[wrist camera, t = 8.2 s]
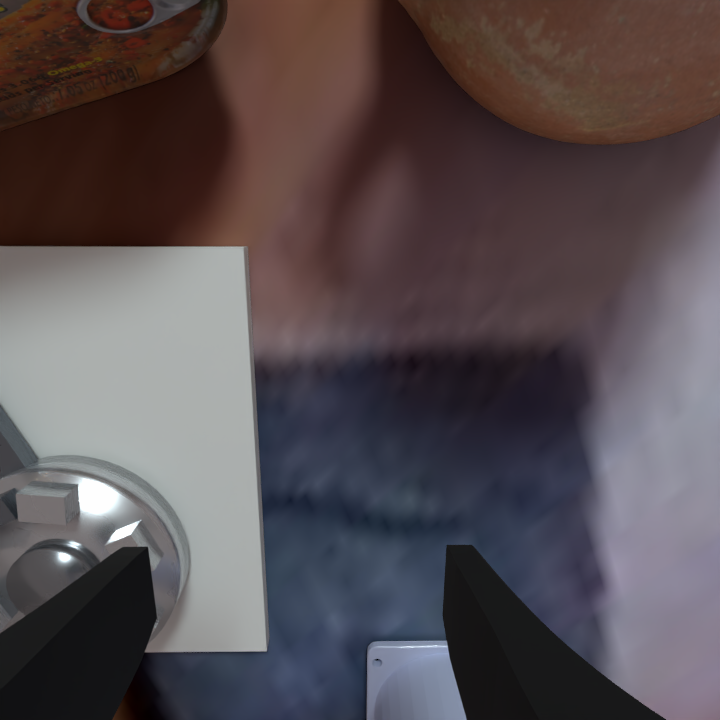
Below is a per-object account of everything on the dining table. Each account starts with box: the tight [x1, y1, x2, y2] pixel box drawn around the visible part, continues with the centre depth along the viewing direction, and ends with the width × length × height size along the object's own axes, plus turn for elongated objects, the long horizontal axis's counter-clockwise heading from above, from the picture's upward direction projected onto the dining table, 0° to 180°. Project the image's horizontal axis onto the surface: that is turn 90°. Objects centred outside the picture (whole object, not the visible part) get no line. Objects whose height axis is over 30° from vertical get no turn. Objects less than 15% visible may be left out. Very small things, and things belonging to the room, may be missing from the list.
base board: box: [0, 246, 269, 652], centre depth 22 cm, size 20×18×1 cm
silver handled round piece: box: [0, 406, 189, 643], centre depth 19 cm, size 16×10×4 cm, turn 25°
